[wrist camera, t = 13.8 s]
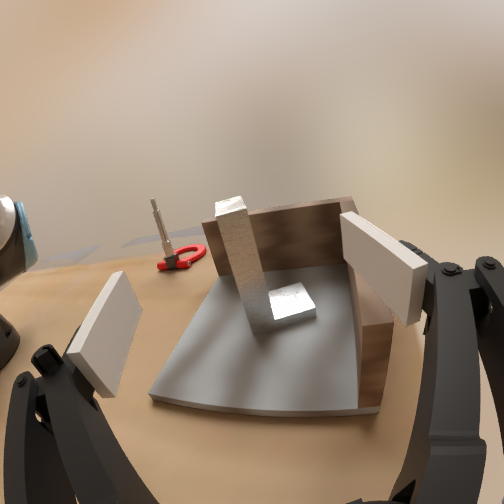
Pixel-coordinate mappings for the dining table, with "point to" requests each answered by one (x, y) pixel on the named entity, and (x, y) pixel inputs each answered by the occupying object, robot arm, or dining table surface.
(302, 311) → the bracket
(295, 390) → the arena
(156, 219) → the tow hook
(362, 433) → the dining table surface
